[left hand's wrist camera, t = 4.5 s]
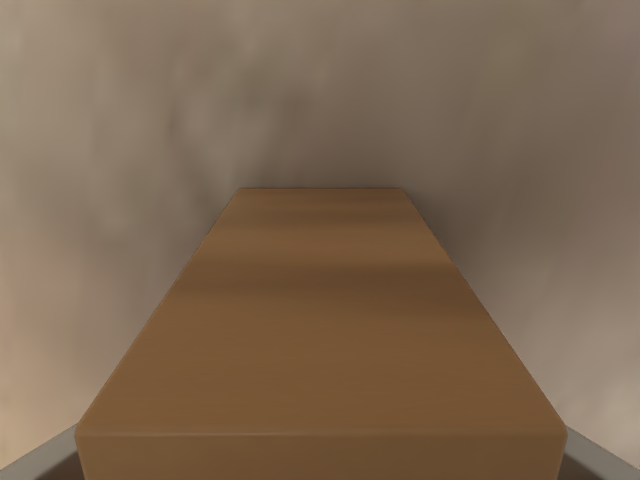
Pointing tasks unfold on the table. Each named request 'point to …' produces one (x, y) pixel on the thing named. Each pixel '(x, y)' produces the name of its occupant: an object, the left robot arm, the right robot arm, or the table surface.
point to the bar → (320, 358)
